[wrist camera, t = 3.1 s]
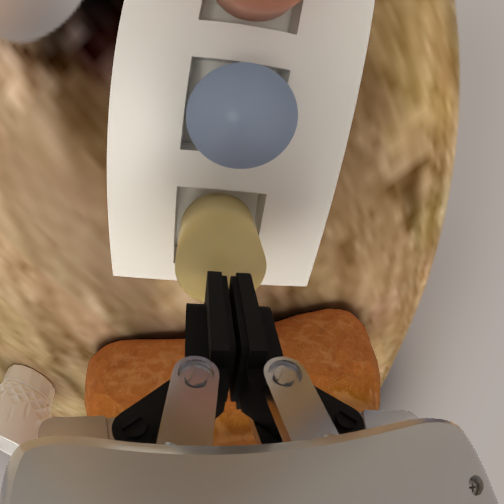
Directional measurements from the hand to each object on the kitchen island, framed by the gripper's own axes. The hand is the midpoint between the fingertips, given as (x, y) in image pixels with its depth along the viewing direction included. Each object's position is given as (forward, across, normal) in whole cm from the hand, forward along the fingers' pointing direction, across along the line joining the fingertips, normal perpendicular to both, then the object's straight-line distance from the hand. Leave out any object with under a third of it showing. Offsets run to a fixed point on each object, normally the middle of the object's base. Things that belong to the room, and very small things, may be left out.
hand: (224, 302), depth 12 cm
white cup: (+9, +21, +23) cm, 33 cm away
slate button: (+6, 0, -7) cm, 9 cm away
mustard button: (+6, 0, 0) cm, 6 cm away
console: (+9, 0, -7) cm, 11 cm away
